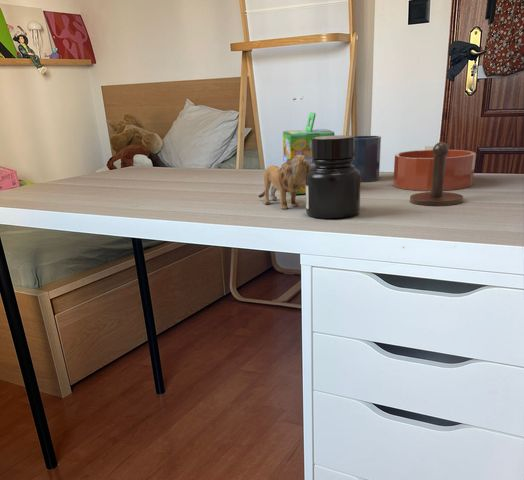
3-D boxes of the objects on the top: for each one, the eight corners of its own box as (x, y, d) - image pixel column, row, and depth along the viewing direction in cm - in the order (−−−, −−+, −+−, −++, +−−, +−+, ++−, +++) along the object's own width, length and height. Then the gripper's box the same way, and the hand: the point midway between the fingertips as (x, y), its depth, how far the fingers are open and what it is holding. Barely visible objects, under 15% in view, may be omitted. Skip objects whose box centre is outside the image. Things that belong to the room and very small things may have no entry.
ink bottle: (331, 206, 94) (332, 134, 89) (371, 211, 88) (375, 134, 83) (293, 215, 88) (291, 139, 83) (333, 222, 82) (334, 140, 77)
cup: (379, 176, 122) (381, 135, 118) (378, 181, 116) (380, 138, 112) (347, 177, 124) (347, 136, 120) (343, 182, 118) (344, 139, 114)
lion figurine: (318, 207, 94) (318, 154, 90) (295, 212, 91) (293, 157, 87) (269, 198, 105) (267, 150, 101) (247, 202, 102) (244, 152, 98)
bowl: (464, 173, 121) (468, 145, 118) (475, 190, 101) (480, 157, 98) (394, 174, 124) (396, 147, 122) (392, 191, 105) (394, 159, 102)
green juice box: (283, 188, 114) (280, 113, 107) (325, 185, 115) (325, 111, 108) (290, 195, 106) (287, 115, 99) (334, 192, 106) (335, 112, 100)
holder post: (460, 196, 97) (466, 138, 92) (465, 205, 89) (472, 143, 85) (409, 196, 99) (413, 140, 94) (409, 206, 91) (414, 145, 87)
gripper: (483, -95, 89) (470, 23, 96) (598, -110, 85) (576, 15, 92) (478, -83, 95) (467, 27, 103) (584, -97, 91) (565, 19, 99)
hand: (518, 21), depth 97 cm, fingers open, 9 cm apart
